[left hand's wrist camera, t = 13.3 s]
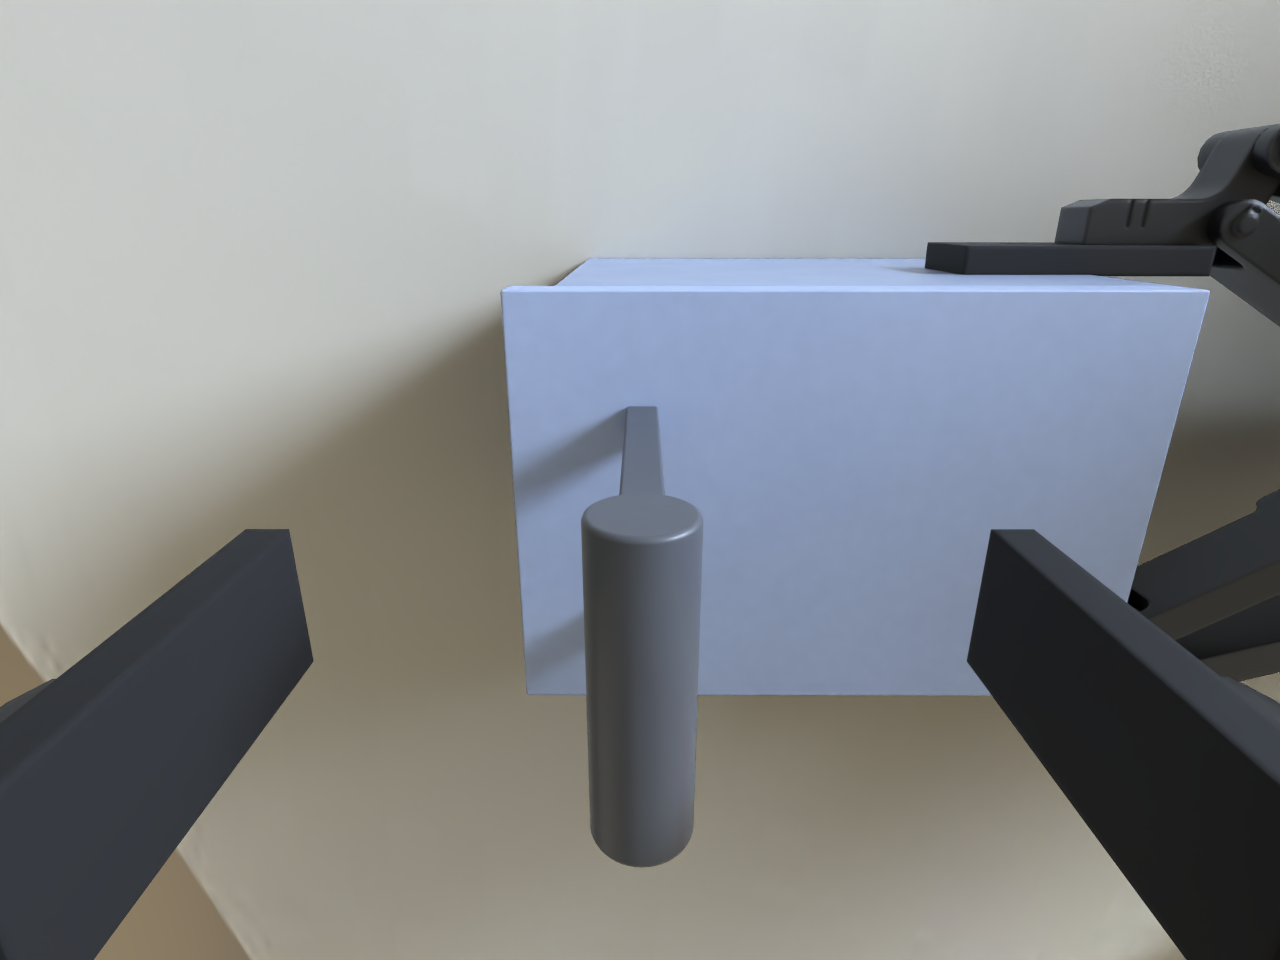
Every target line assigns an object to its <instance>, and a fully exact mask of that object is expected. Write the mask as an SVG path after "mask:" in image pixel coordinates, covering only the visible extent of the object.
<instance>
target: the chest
mask: <svg viewBox="0 0 1280 960" xmlns="http://www.w3.org/2000/svg"><path fill="white" fill-rule="evenodd" d="M925 261H926V258H589V259H588V260H587V261H585V262H584V263H583V264H582V265H580V266H579V267H578V268H577V269H575V270H574V271H573V272H572V273H570V274H569V275H568V276H566V277H565V278H564V279H563V280H561V281H560V282H559V283H558V284H556V285H555V286H1172V285H1165V284H1157V283H1149V282H1142V281H1134V280H1126V279H1118V278H1111V277H1103V276H1095V275H960V274H955V273H949V272H944V271H938V270H932V269H927V268H925Z"/></svg>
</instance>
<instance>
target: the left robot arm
mask: <svg viewBox="0 0 1280 960" xmlns="http://www.w3.org/2000/svg"><path fill="white" fill-rule="evenodd" d="M312 663H313V656H312V651H311V645H310V640H309V635H308V629H307V624H306V618H305V613H304V607H303V602H302V597H301V591H300V586H299V580H298V575H297V570H296V564H295V559H294V553H293V548H292V542H291V537H290V532H289V529H246V530H245V531H243V532H242V533H241V534H239V535H238V536H237V537H236V538H234V539H233V540H232V541H231V542H229V543H228V544H227V545H226V546H224V547H223V548H222V549H220V550H219V551H218V552H217V553H215V554H214V555H213V556H212V557H210V558H209V559H208V560H207V561H205V562H204V563H203V564H201V565H200V566H199V567H198V568H196V569H195V570H194V571H193V572H191V573H190V574H189V575H188V576H186V577H185V578H184V579H182V580H181V581H180V582H179V583H177V584H176V585H175V586H174V587H172V588H171V589H170V590H169V591H167V592H166V593H165V594H163V595H162V596H161V597H160V598H158V599H157V600H156V601H155V602H153V603H152V604H151V605H150V606H148V607H147V608H146V609H144V610H143V611H142V612H141V613H139V614H138V615H137V616H136V617H134V618H133V619H132V620H131V621H129V622H128V623H127V624H125V625H124V626H123V627H122V628H120V629H119V630H118V631H117V632H115V633H114V634H113V635H112V636H110V637H109V638H108V639H107V640H105V641H104V642H103V643H101V644H100V645H99V646H98V647H96V648H95V649H94V650H93V651H91V652H90V653H89V654H88V655H86V656H85V657H84V658H82V659H81V660H80V661H79V662H77V663H76V664H75V665H74V666H72V667H71V668H70V669H69V670H67V671H66V672H65V673H63V674H62V675H61V676H60V677H58V678H57V679H52V680H50V681H48V682H46V683H44V684H42V685H40V686H38V687H36V688H34V689H32V690H30V691H28V692H26V693H25V694H23V695H21V696H19V697H17V698H15V699H13V700H11V701H9V702H7V703H5V704H4V705H3V706H2V707H0V960H94V958H95V957H96V956H97V954H98V953H99V952H100V950H101V949H102V948H103V946H104V945H105V944H106V942H107V941H108V939H109V938H110V937H111V935H112V934H113V933H114V931H115V930H116V929H117V927H118V926H119V924H120V923H121V922H122V920H123V919H124V918H125V916H126V915H127V914H128V912H129V911H130V910H131V908H132V907H133V905H134V904H135V903H136V901H137V900H138V899H139V897H140V896H141V895H142V893H143V892H144V891H145V889H146V888H147V887H148V885H149V884H150V882H151V881H152V880H153V878H154V877H155V876H156V874H157V873H158V872H159V870H160V869H161V867H162V866H163V865H164V863H165V862H166V861H167V859H168V858H169V857H170V855H171V854H172V853H173V851H174V850H175V849H176V847H177V846H178V844H179V843H180V842H181V840H182V839H183V838H184V836H185V835H186V834H187V832H188V831H189V830H190V828H191V827H192V825H193V824H194V823H195V821H196V820H197V819H198V817H199V816H200V815H201V813H202V812H203V811H204V809H205V808H206V806H207V805H208V804H209V802H210V801H211V800H212V798H213V797H214V796H215V794H216V793H217V792H218V790H219V789H220V787H221V786H222V785H223V783H224V782H225V781H226V779H227V778H228V777H229V775H230V774H231V773H232V771H233V770H234V768H235V767H236V766H237V764H238V763H239V762H240V760H241V759H242V758H243V756H244V755H245V754H246V752H247V751H248V749H249V748H250V747H251V745H252V744H253V743H254V741H255V740H256V739H257V737H258V736H259V735H260V733H261V732H262V730H263V729H264V728H265V726H266V725H267V724H268V722H269V721H270V720H271V718H272V717H273V716H274V714H275V713H276V711H277V710H278V709H279V707H280V706H281V705H282V703H283V702H284V701H285V699H286V698H287V697H288V695H289V694H290V692H291V691H292V690H293V688H294V687H295V686H296V684H297V683H298V682H299V680H300V679H301V678H302V676H303V675H304V673H305V672H306V671H307V669H308V668H309V667H310V665H311V664H312ZM967 663H968V664H969V665H970V667H971V668H972V669H973V671H974V672H975V673H976V675H977V676H978V677H979V679H980V680H981V682H982V683H983V684H984V686H985V687H986V688H987V690H988V691H989V692H990V694H991V695H992V696H993V698H994V699H995V701H996V702H997V703H998V705H999V706H1000V707H1001V709H1002V710H1003V711H1004V713H1005V714H1006V715H1007V717H1008V718H1009V720H1010V721H1011V722H1012V724H1013V725H1014V726H1015V728H1016V729H1017V730H1018V732H1019V733H1020V734H1021V736H1022V737H1023V739H1024V740H1025V741H1026V743H1027V744H1028V745H1029V747H1030V748H1031V749H1032V751H1033V752H1034V753H1035V755H1036V756H1037V758H1038V759H1039V760H1040V762H1041V763H1042V764H1043V766H1044V767H1045V768H1046V770H1047V771H1048V772H1049V774H1050V775H1051V777H1052V778H1053V779H1054V781H1055V782H1056V783H1057V785H1058V786H1059V787H1060V789H1061V790H1062V791H1063V793H1064V794H1065V796H1066V797H1067V798H1068V800H1069V801H1070V802H1071V804H1072V805H1073V806H1074V808H1075V809H1076V810H1077V812H1078V813H1079V815H1080V816H1081V817H1082V819H1083V820H1084V821H1085V823H1086V824H1087V825H1088V827H1089V828H1090V829H1091V831H1092V832H1093V834H1094V835H1095V836H1096V838H1097V839H1098V840H1099V842H1100V843H1101V844H1102V846H1103V847H1104V848H1105V850H1106V851H1107V853H1108V854H1109V855H1110V857H1111V858H1112V859H1113V861H1114V862H1115V863H1116V865H1117V866H1118V867H1119V869H1120V870H1121V872H1122V873H1123V874H1124V876H1125V877H1126V878H1127V880H1128V881H1129V882H1130V884H1131V885H1132V886H1133V888H1134V889H1135V891H1136V892H1137V893H1138V895H1139V896H1140V897H1141V899H1142V900H1143V901H1144V903H1145V904H1146V905H1147V907H1148V908H1149V910H1150V911H1151V912H1152V914H1153V915H1154V916H1155V918H1156V919H1157V920H1158V922H1159V923H1160V924H1161V926H1162V927H1163V929H1164V930H1165V931H1166V933H1167V934H1168V935H1169V937H1170V938H1171V939H1172V941H1173V942H1174V943H1175V945H1176V946H1177V948H1178V949H1179V950H1180V952H1181V953H1182V954H1183V956H1184V957H1185V958H1186V960H1280V704H1279V703H1278V702H1276V701H1275V700H1273V699H1271V698H1269V697H1267V696H1265V695H1263V694H1262V693H1260V692H1258V691H1256V690H1254V689H1252V688H1250V687H1248V686H1246V685H1244V684H1242V683H1240V682H1238V681H1236V680H1234V679H1232V678H1230V677H1220V676H1219V675H1218V674H1217V673H1215V672H1214V671H1213V670H1212V669H1210V668H1209V667H1208V666H1206V665H1205V664H1204V663H1203V662H1201V661H1200V660H1199V659H1198V658H1196V657H1195V656H1194V655H1193V654H1191V653H1190V652H1189V651H1187V650H1186V649H1185V648H1184V647H1182V646H1181V645H1180V644H1179V643H1177V642H1176V641H1175V640H1174V639H1172V638H1171V637H1170V636H1168V635H1167V634H1166V633H1165V632H1163V631H1162V630H1161V629H1160V628H1158V627H1157V626H1156V625H1155V624H1153V623H1152V622H1151V621H1149V620H1148V619H1147V618H1146V617H1144V616H1143V615H1142V614H1141V613H1139V612H1138V611H1137V610H1136V609H1134V608H1133V607H1132V606H1130V605H1129V604H1128V603H1127V602H1125V601H1124V600H1123V599H1122V598H1120V597H1119V596H1118V595H1117V594H1115V593H1114V592H1113V591H1111V590H1110V589H1109V588H1108V587H1106V586H1105V585H1104V584H1103V583H1101V582H1100V581H1099V580H1098V579H1096V578H1095V577H1094V576H1092V575H1091V574H1090V573H1089V572H1087V571H1086V570H1085V569H1084V568H1082V567H1081V566H1080V565H1079V564H1077V563H1076V562H1075V561H1074V560H1072V559H1071V558H1070V557H1068V556H1067V555H1066V554H1065V553H1063V552H1062V551H1061V550H1060V549H1058V548H1057V547H1056V546H1055V545H1053V544H1052V543H1051V542H1049V541H1048V540H1047V539H1046V538H1044V537H1043V536H1042V535H1041V534H1039V533H1038V532H1037V531H1036V530H1034V529H991V532H990V537H989V543H988V548H987V553H986V559H985V564H984V570H983V575H982V581H981V586H980V591H979V597H978V602H977V608H976V613H975V618H974V624H973V629H972V635H971V640H970V646H969V651H968V656H967Z"/></svg>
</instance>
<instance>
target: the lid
mask: <svg viewBox="0 0 1280 960" xmlns="http://www.w3.org/2000/svg"><path fill="white" fill-rule="evenodd" d="M1209 295H1210V291H1209V290H1205V289H1197V288H1189V287H1181V286H509V287H507V288H505V289H503V290H501V306H502V321H503V337H504V352H505V367H506V383H507V398H508V413H509V428H510V444H511V459H512V474H513V490H514V505H515V520H516V536H517V551H518V566H519V581H520V597H521V612H522V627H523V643H524V658H525V673H526V689H527V694H528V695H586V701H587V733H588V765H589V798H590V828H591V833H592V836H593V838H594V840H595V842H596V844H597V845H598V847H599V848H600V849H601V851H602V852H603V853H604V854H605V855H607V856H608V857H609V858H611V859H613V860H614V861H616V862H619V863H621V864H624V865H627V866H633V867H651V866H656V865H660V864H663V863H665V862H668V861H670V860H671V859H673V858H674V857H676V856H677V855H678V854H679V853H680V852H681V851H682V850H683V849H684V848H685V846H686V845H687V844H688V842H689V840H690V838H691V835H692V832H693V820H694V790H695V760H696V730H697V701H698V695H923V696H992V695H991V694H990V692H989V691H988V690H987V688H986V687H985V686H984V684H983V683H982V682H981V680H980V679H979V677H978V676H977V675H976V673H975V672H974V671H973V669H972V668H971V667H970V665H969V664H968V663H967V656H968V651H969V646H970V640H971V635H972V629H973V624H974V618H975V613H976V608H977V602H978V597H979V591H980V586H981V581H982V575H983V570H984V564H985V559H986V553H987V548H988V543H989V537H990V532H991V529H1034V530H1036V531H1037V532H1038V533H1039V534H1041V535H1042V536H1043V537H1044V538H1046V539H1047V540H1048V541H1049V542H1051V543H1052V544H1053V545H1055V546H1056V547H1057V548H1058V549H1060V550H1061V551H1062V552H1063V553H1065V554H1066V555H1067V556H1068V557H1070V558H1071V559H1072V560H1074V561H1075V562H1076V563H1077V564H1079V565H1080V566H1081V567H1082V568H1084V569H1085V570H1086V571H1087V572H1089V573H1090V574H1091V575H1092V576H1094V577H1095V578H1096V579H1098V580H1099V581H1100V582H1101V583H1103V584H1104V585H1105V586H1106V587H1108V588H1109V589H1110V590H1111V591H1113V592H1114V593H1115V594H1117V595H1118V596H1119V597H1120V598H1122V599H1123V600H1124V601H1125V602H1127V601H1128V598H1129V594H1130V590H1131V586H1132V583H1133V579H1134V575H1135V571H1136V568H1137V564H1138V560H1139V557H1140V553H1141V549H1142V545H1143V542H1144V538H1145V534H1146V530H1147V527H1148V523H1149V519H1150V515H1151V512H1152V508H1153V504H1154V500H1155V497H1156V493H1157V489H1158V486H1159V482H1160V478H1161V474H1162V471H1163V467H1164V463H1165V459H1166V456H1167V452H1168V448H1169V444H1170V441H1171V437H1172V433H1173V429H1174V426H1175V422H1176V418H1177V415H1178V411H1179V407H1180V403H1181V400H1182V396H1183V392H1184V388H1185V385H1186V381H1187V377H1188V373H1189V370H1190V366H1191V362H1192V358H1193V355H1194V351H1195V347H1196V343H1197V340H1198V336H1199V332H1200V329H1201V325H1202V321H1203V317H1204V314H1205V310H1206V306H1207V302H1208V299H1209Z"/></svg>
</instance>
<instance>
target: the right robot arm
mask: <svg viewBox="0 0 1280 960" xmlns="http://www.w3.org/2000/svg"><path fill="white" fill-rule="evenodd" d="M1198 167H1199V169H1200V172H1199V174H1198V175H1197V177H1196V179H1195V180H1194V182H1193V183H1192V185H1191V186H1190V187H1189V188H1188V189H1187V190H1186V191H1185V192H1184V193H1182V194H1181V195H1179V196H1178V197H1175V198H1172V199H1096V200H1080V201H1077V202H1075V203H1072V204H1069V205H1067V206H1064V207H1062V208H1061V212H1060V217H1059V222H1058V228H1057V233H1056V238H1055V243H957V242H928V246H927V253H926V261H925V268H927V269H932V270H938V271H944V272H949V273H955V274H960V275H1095V276H1209V275H1210V276H1212V277H1213V278H1214V279H1216V280H1217V281H1218V282H1220V283H1221V284H1222V285H1224V286H1225V287H1227V288H1228V289H1229V290H1231V291H1232V292H1233V293H1235V294H1236V295H1238V296H1239V297H1240V298H1242V299H1243V300H1244V301H1246V302H1247V303H1248V304H1250V305H1251V306H1253V307H1254V308H1255V309H1257V310H1258V311H1259V312H1261V313H1262V314H1264V315H1265V316H1266V317H1268V318H1269V319H1270V320H1272V321H1273V322H1274V323H1276V324H1277V325H1279V326H1280V216H1279V215H1278V214H1277V213H1275V212H1274V211H1273V210H1272V209H1270V208H1269V207H1268V206H1266V204H1267V203H1268V201H1269V200H1272V201H1275V202H1277V203H1280V124H1275V125H1268V126H1261V127H1254V128H1247V129H1240V130H1233V131H1227V132H1222V133H1218V134H1215V135H1214V136H1212V137H1211V138H1209V139H1208V140H1207V141H1206V142H1205V144H1204V145H1203V146H1202V148H1201V149H1200V152H1199V155H1198ZM1256 506H1257V510H1256V511H1255V512H1254V513H1252V514H1250V515H1248V516H1245V517H1243V518H1241V519H1239V520H1237V521H1235V522H1232V523H1230V524H1228V525H1226V526H1224V527H1222V528H1220V529H1217V530H1215V531H1213V532H1211V533H1209V534H1207V535H1204V536H1202V537H1200V538H1198V539H1196V540H1194V541H1191V542H1189V543H1187V544H1185V545H1183V546H1181V547H1179V548H1176V549H1174V550H1172V551H1170V552H1168V553H1166V554H1163V555H1161V556H1159V557H1157V558H1155V559H1153V560H1150V561H1148V562H1146V563H1144V564H1142V565H1140V566H1138V567H1137V568H1136V571H1135V575H1134V579H1133V583H1132V586H1131V590H1130V594H1129V598H1128V601H1127V603H1128V604H1129V605H1130V606H1132V607H1133V608H1134V609H1136V610H1137V611H1138V612H1139V613H1141V614H1142V615H1143V616H1144V617H1146V618H1147V619H1148V620H1149V621H1151V622H1152V623H1153V624H1155V625H1156V626H1157V627H1158V628H1160V629H1161V630H1162V631H1163V632H1165V633H1166V634H1167V635H1168V636H1170V637H1171V638H1172V639H1174V640H1175V641H1176V642H1177V643H1179V644H1180V645H1181V646H1182V647H1184V648H1185V649H1186V650H1187V651H1189V652H1190V653H1191V654H1193V655H1194V656H1195V657H1196V658H1198V659H1199V660H1200V661H1201V662H1203V663H1204V664H1205V665H1206V666H1208V667H1209V668H1210V669H1212V670H1213V671H1214V672H1215V673H1217V674H1218V675H1219V676H1220V677H1230V678H1232V679H1234V680H1236V681H1238V682H1239V681H1243V680H1248V679H1252V678H1256V677H1260V676H1265V675H1269V674H1273V673H1278V672H1280V489H1279V490H1277V491H1275V492H1273V493H1271V494H1269V495H1267V496H1264V497H1262V498H1261V499H1259V500H1258V501H1257V503H1256Z"/></svg>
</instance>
